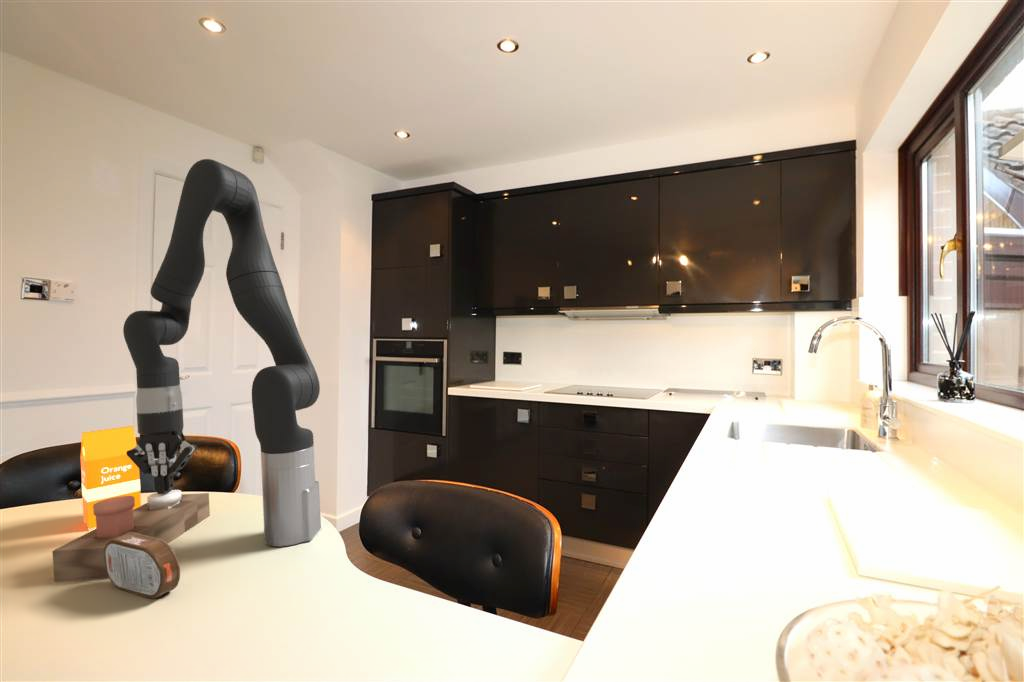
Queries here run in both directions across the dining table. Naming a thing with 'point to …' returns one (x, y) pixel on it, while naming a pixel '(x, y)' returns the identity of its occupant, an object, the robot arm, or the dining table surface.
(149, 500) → the white rounded piece
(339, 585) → the dining table surface
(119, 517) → the brick plunger
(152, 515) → the block
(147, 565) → the tin
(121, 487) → the orange juice
